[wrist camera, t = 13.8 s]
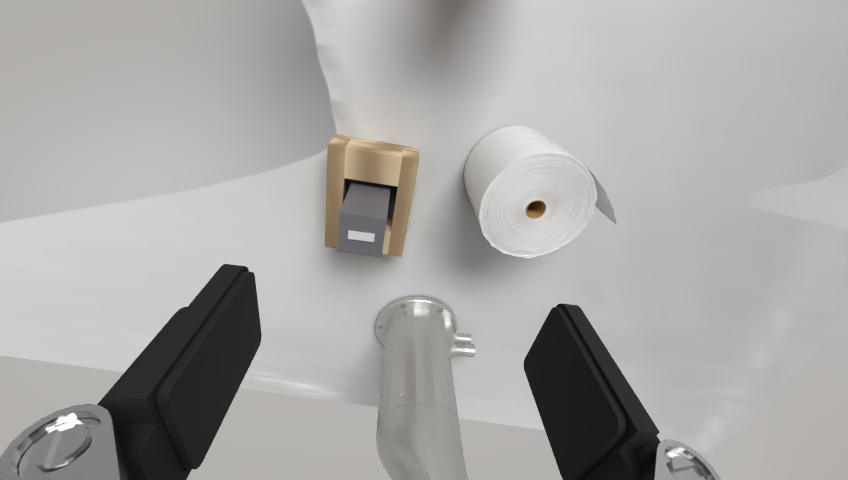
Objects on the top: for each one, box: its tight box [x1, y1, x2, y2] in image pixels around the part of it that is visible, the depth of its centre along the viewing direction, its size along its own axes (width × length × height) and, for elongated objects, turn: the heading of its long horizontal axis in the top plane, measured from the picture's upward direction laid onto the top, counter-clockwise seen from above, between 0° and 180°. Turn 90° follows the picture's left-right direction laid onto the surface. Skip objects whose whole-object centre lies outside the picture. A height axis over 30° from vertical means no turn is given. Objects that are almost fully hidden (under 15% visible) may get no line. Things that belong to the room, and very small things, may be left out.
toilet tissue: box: [464, 126, 616, 258], centre depth 33 cm, size 11×12×10 cm
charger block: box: [338, 180, 391, 257], centre depth 33 cm, size 4×4×9 cm
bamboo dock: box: [325, 134, 419, 256], centre depth 36 cm, size 9×12×4 cm
